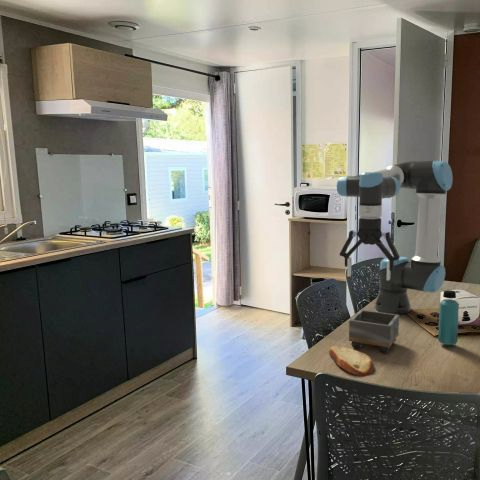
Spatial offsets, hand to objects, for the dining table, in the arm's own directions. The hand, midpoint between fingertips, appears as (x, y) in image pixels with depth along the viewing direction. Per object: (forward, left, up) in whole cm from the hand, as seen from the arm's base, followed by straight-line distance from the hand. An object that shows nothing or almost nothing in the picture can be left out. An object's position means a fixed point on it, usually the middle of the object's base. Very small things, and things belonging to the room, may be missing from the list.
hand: (368, 277), depth 175 cm
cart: (-1, +2, -25) cm, 25 cm away
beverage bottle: (-13, +25, -25) cm, 38 cm away
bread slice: (+17, -1, -26) cm, 31 cm away
